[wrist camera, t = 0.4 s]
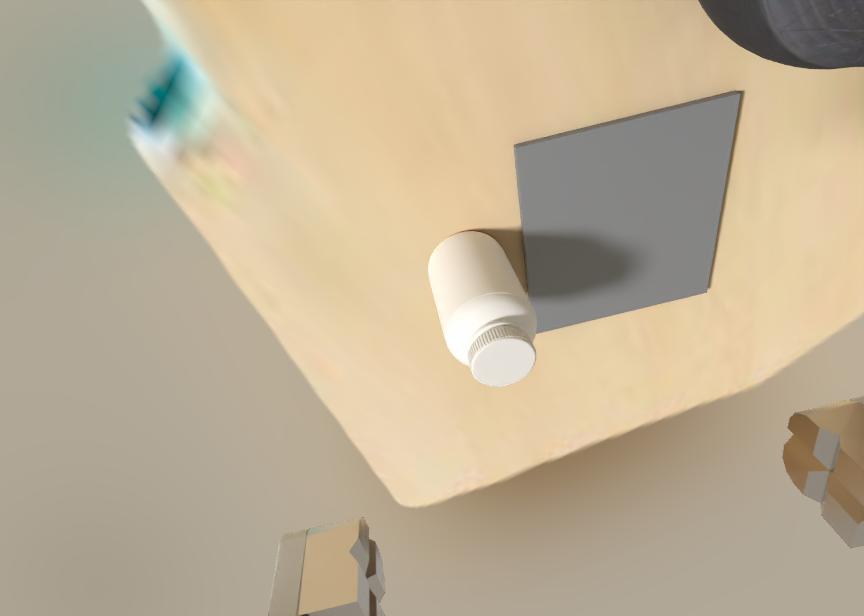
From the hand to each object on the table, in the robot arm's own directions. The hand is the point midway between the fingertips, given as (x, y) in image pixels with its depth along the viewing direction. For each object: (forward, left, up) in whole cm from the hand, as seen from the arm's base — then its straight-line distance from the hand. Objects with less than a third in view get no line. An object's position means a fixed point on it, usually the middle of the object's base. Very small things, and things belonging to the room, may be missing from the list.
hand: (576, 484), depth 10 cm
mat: (+21, +18, -39) cm, 47 cm away
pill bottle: (+21, +2, -39) cm, 44 cm away
